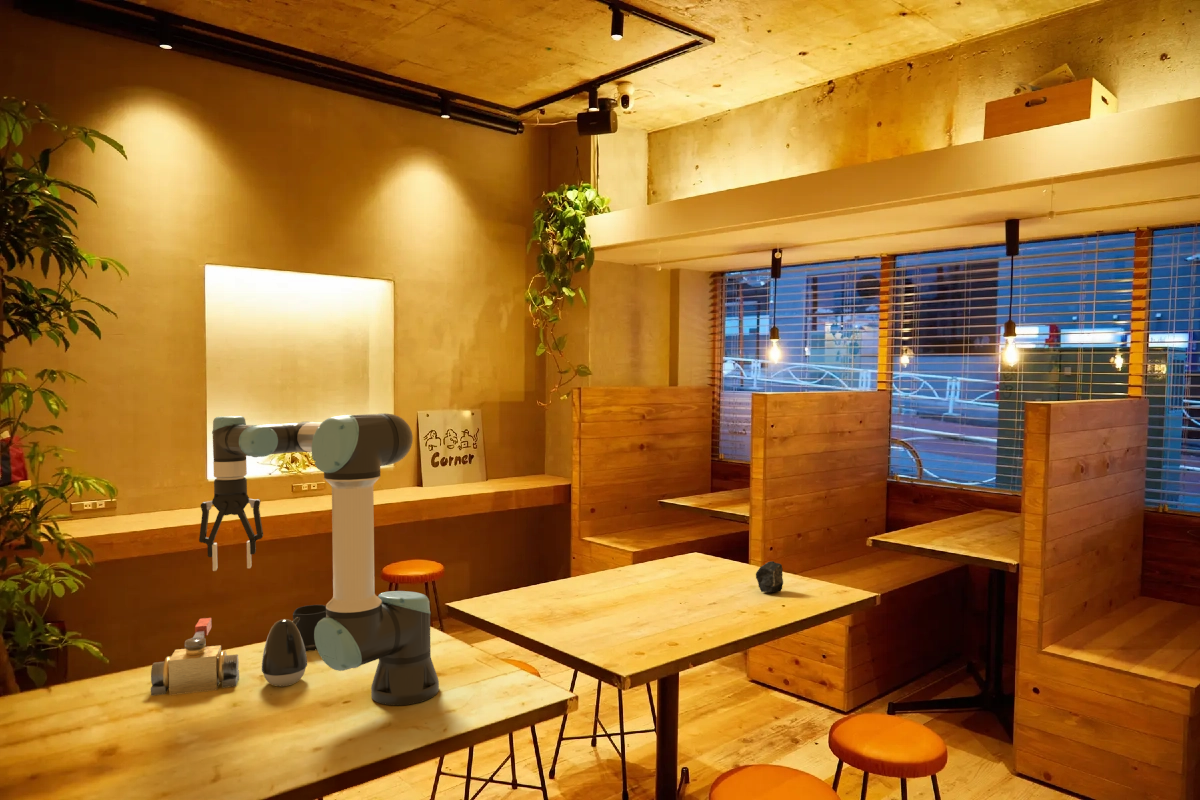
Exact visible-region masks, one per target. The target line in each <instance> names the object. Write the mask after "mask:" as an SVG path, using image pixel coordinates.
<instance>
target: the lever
mask: <svg viewBox="0 0 1200 800" xmlns="http://www.w3.org/2000/svg"><path fill="white" fill-rule="evenodd" d="M211 629H212V617H203V618H199V619H198V622H197V623H196V624H195V626H194V635H193V637H191V638H187V639H186V640H185V641H184V649H188V650H193V649H199V648H203V647H207V646H206V639H207V638H206V637H208V635H209V633H210V631H211ZM205 636H206V637H205Z"/></svg>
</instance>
